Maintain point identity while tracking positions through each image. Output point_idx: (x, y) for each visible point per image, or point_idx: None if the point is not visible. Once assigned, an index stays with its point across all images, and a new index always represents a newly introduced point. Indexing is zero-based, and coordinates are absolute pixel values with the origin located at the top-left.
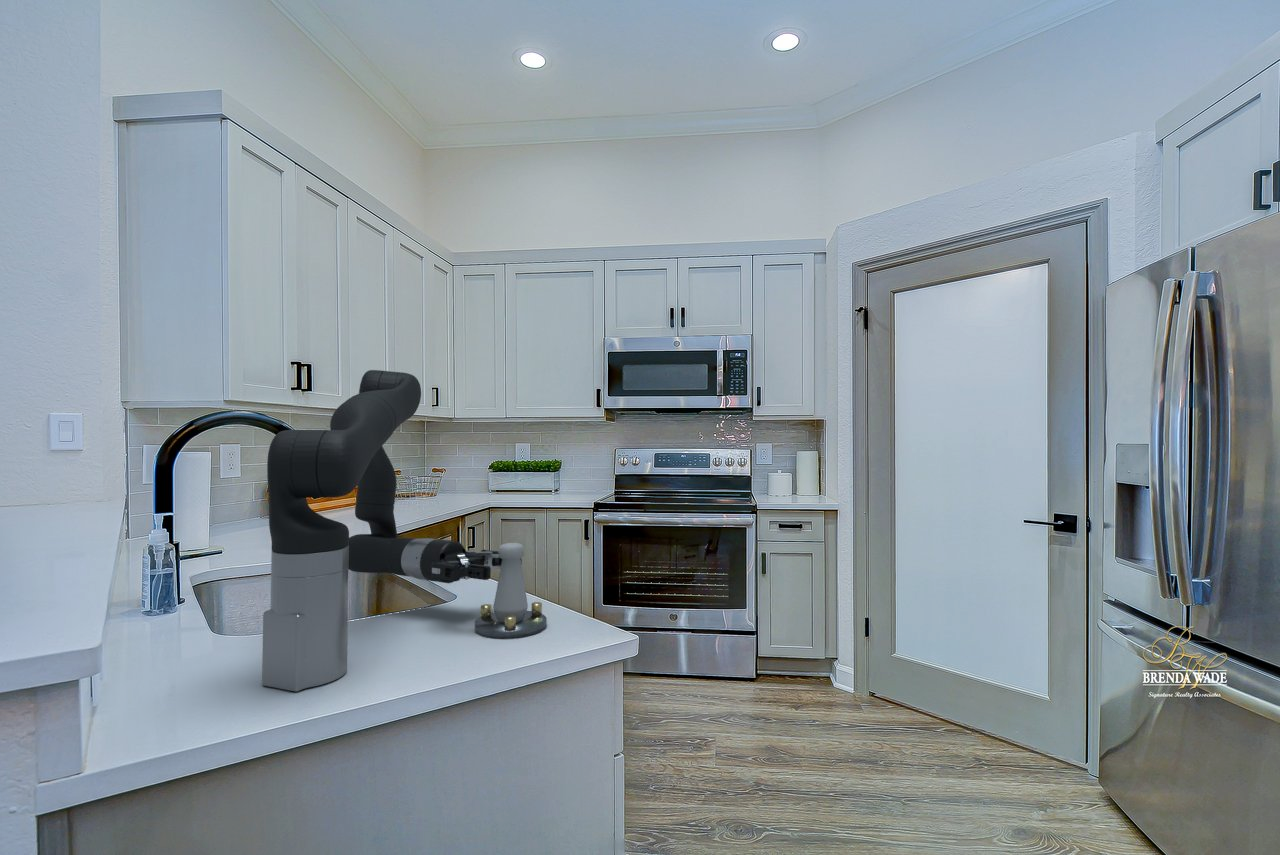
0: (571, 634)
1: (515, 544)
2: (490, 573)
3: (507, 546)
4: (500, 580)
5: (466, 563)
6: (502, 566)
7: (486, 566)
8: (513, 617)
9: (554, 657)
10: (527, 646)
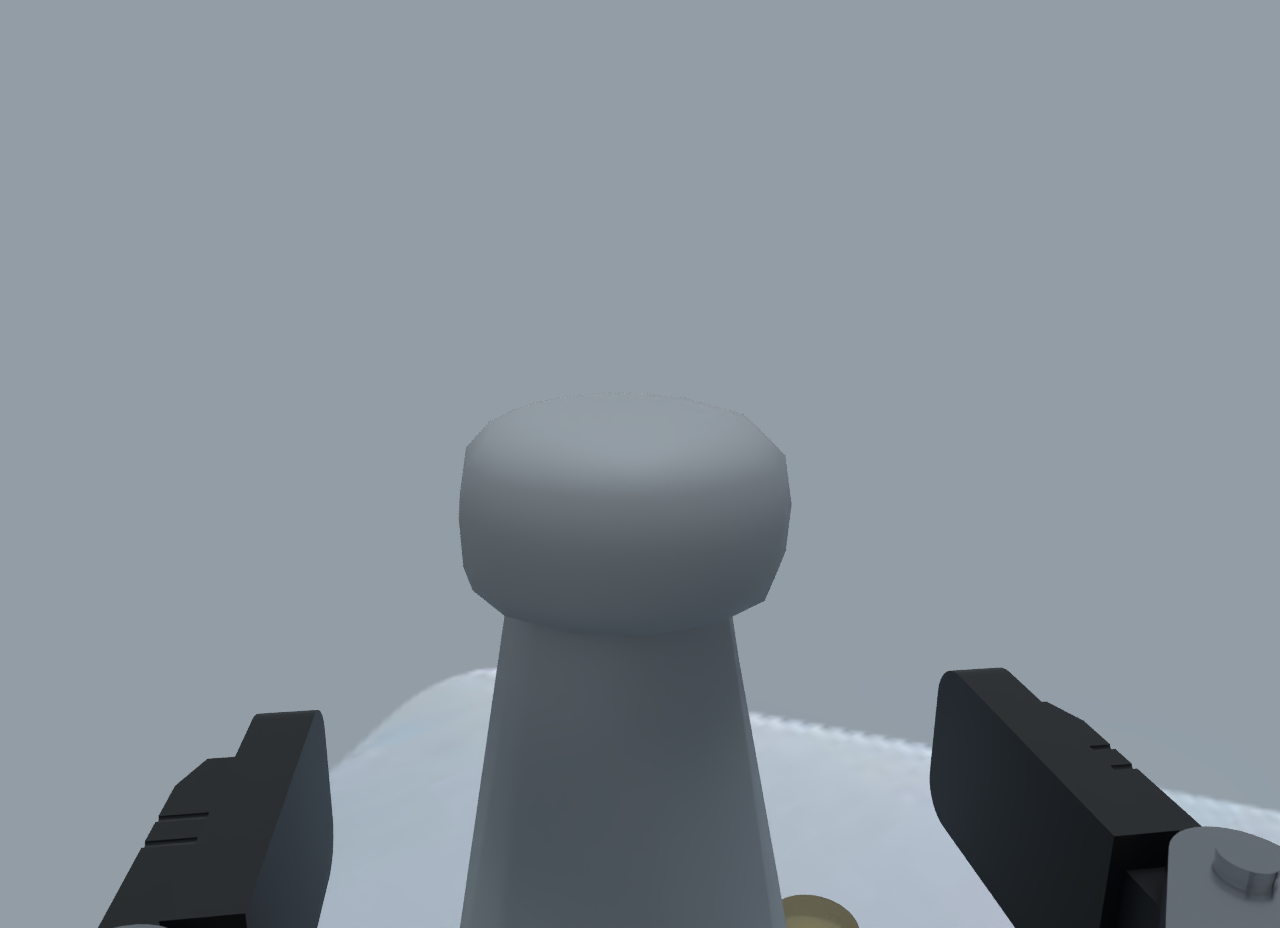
0: None
1: (624, 396)
2: (935, 737)
3: (738, 413)
4: (765, 835)
5: (1256, 845)
6: (740, 687)
7: (994, 671)
8: (803, 902)
9: (833, 737)
10: (834, 876)
